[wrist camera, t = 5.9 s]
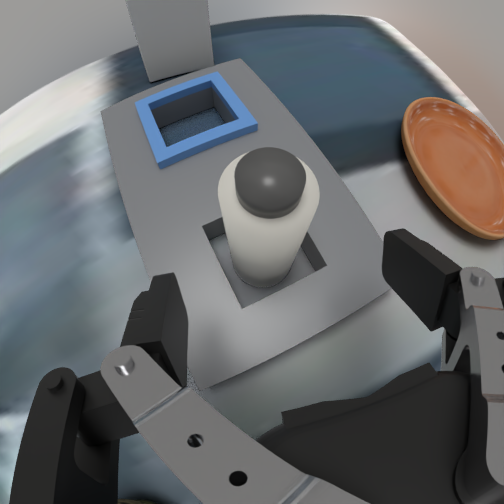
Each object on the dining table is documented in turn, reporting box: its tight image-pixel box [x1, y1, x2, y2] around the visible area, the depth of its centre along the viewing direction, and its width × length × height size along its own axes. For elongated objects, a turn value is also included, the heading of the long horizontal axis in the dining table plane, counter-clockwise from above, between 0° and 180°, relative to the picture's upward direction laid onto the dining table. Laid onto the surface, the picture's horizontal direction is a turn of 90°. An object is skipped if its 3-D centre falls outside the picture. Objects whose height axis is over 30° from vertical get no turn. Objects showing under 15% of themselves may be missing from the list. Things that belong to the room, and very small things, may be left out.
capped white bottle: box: [218, 147, 320, 287], centre depth 15 cm, size 4×4×10 cm
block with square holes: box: [101, 58, 391, 391], centre depth 20 cm, size 14×24×3 cm, turn 27°
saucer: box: [401, 97, 504, 240], centre depth 22 cm, size 16×16×3 cm
